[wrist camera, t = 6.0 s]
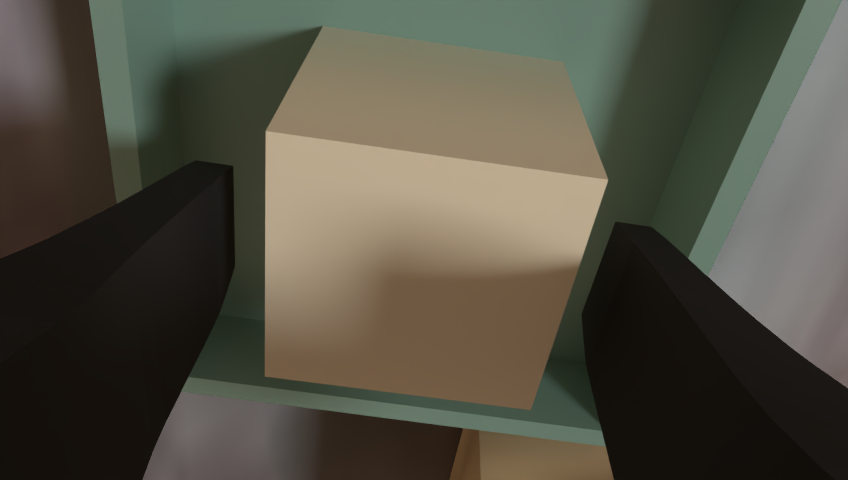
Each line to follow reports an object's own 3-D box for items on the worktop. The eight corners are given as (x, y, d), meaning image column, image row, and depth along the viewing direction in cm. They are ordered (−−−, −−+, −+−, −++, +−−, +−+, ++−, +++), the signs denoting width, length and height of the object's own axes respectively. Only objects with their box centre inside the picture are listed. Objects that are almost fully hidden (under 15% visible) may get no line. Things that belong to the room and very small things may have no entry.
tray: (795, -90, 11) (871, -61, 9) (603, 370, 18) (623, 448, 15) (137, -203, 11) (61, -199, 9) (179, 313, 17) (141, 386, 15)
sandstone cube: (563, 61, 13) (608, 179, 9) (512, 255, 15) (530, 410, 11) (323, 25, 12) (265, 130, 9) (312, 227, 15) (264, 375, 11)
